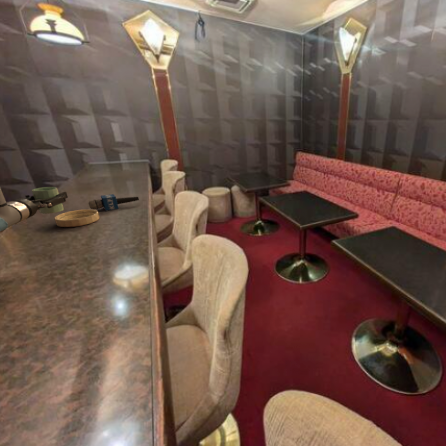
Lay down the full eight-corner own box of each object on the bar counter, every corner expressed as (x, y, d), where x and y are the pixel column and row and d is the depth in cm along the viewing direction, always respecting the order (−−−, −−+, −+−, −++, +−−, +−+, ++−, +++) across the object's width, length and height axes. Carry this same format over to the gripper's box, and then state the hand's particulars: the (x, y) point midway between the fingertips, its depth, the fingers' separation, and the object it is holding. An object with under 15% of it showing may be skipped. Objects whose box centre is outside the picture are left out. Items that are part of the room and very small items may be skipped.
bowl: (53, 230, 119) (51, 222, 117) (60, 219, 132) (57, 212, 130) (98, 223, 128) (96, 216, 126) (100, 214, 141) (98, 207, 139)
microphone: (138, 193, 155) (87, 200, 139) (140, 205, 158) (91, 213, 142) (135, 191, 161) (86, 197, 145) (138, 202, 163) (90, 209, 147)
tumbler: (39, 214, 104) (31, 192, 101) (40, 210, 109) (32, 188, 106) (64, 211, 109) (57, 189, 106) (63, 207, 115) (56, 186, 111)
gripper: (-15, 222, 90) (28, 204, 110) (55, 218, 96) (84, 201, 116) (-24, 202, 87) (22, 187, 107) (48, 199, 93) (79, 186, 113)
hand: (54, 195), depth 111 cm, fingers closed on tumbler, 8 cm apart
